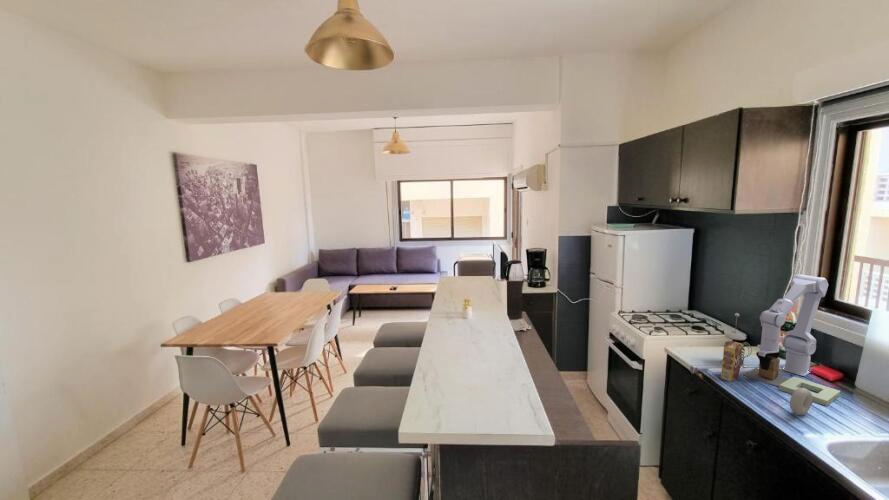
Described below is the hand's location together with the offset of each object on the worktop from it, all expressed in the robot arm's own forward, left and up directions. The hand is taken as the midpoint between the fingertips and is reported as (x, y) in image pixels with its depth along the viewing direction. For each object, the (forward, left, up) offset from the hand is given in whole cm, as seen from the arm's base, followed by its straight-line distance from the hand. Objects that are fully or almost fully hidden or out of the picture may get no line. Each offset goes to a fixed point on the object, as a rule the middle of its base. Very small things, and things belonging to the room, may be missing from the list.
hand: (767, 368), depth 157 cm
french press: (-3, -13, -5) cm, 14 cm away
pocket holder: (+1, +14, -4) cm, 15 cm away
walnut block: (0, 0, -3) cm, 3 cm away
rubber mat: (0, 0, -4) cm, 4 cm away
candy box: (+13, -8, -5) cm, 16 cm away
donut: (+23, +18, -5) cm, 30 cm away
